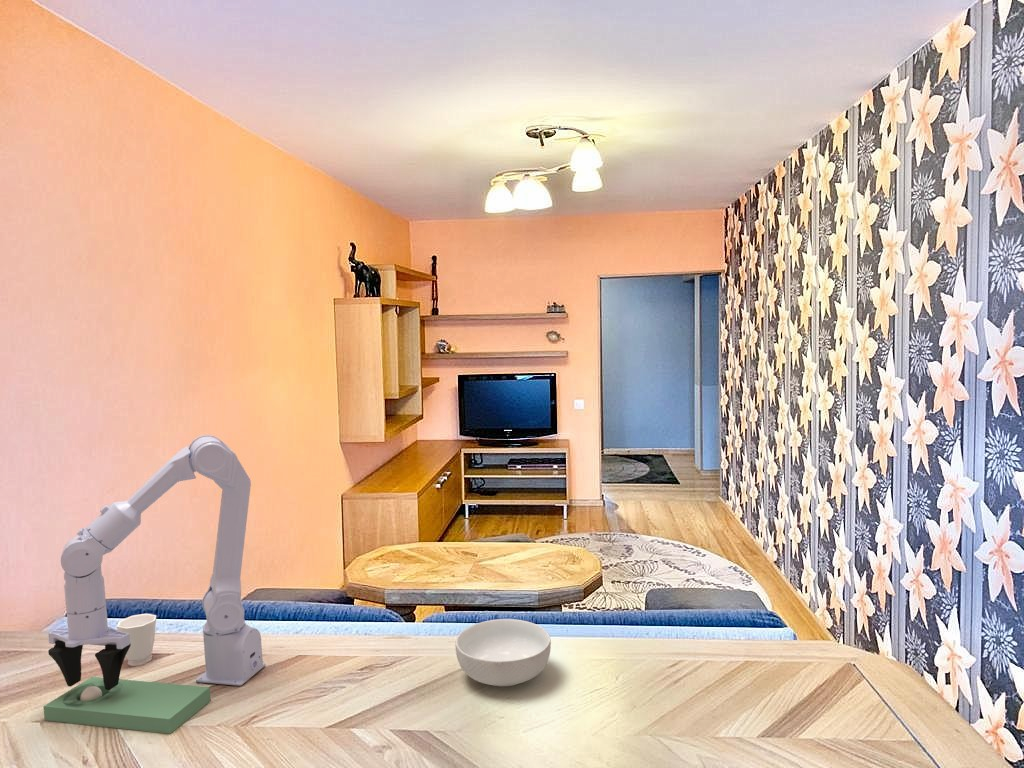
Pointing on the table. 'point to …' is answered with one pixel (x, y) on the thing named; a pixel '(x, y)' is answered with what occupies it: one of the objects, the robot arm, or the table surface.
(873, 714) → the table surface
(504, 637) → the cereal bowl
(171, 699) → the putting strip
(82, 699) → the ball
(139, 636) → the cup
